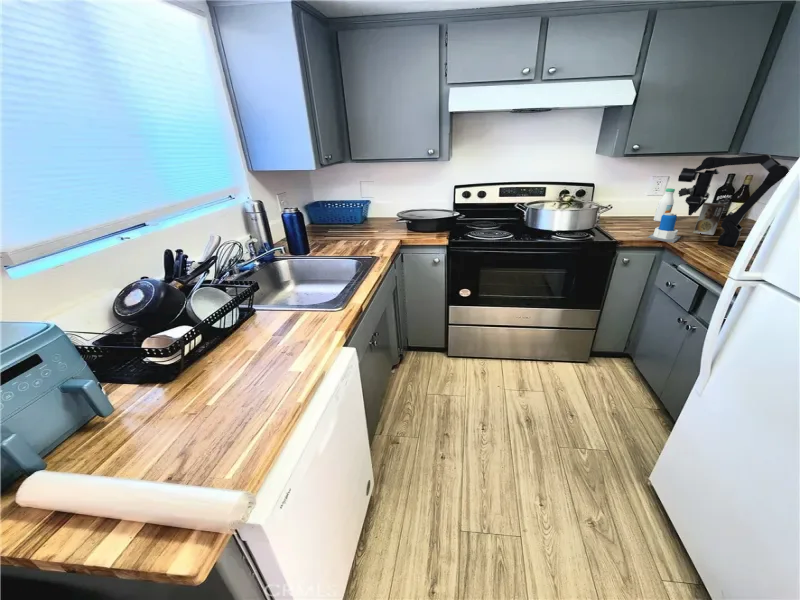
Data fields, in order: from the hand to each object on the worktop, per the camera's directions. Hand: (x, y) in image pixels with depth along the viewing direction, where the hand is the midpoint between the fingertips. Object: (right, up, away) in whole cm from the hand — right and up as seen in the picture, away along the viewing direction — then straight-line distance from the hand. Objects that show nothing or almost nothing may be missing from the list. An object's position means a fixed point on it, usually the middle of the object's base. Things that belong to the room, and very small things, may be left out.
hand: (691, 213), depth 178 cm
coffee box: (+18, -8, +13) cm, 24 cm away
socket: (-10, -12, +6) cm, 17 cm away
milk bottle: (+14, +5, +40) cm, 42 cm away
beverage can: (-10, -11, +6) cm, 16 cm away
